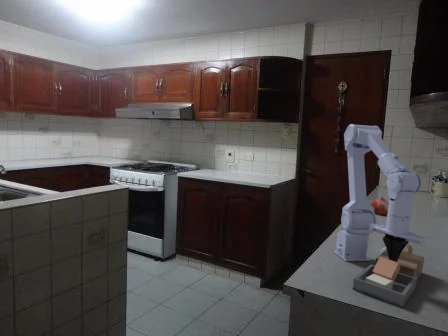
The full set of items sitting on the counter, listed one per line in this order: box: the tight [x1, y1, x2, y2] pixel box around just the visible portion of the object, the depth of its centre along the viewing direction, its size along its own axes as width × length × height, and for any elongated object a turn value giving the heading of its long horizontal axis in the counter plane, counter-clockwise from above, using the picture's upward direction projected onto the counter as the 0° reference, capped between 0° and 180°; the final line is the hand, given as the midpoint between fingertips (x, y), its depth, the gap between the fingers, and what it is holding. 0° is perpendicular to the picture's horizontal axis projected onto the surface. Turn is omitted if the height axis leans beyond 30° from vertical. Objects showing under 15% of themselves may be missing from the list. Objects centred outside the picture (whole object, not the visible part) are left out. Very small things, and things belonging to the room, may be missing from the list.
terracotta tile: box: [373, 257, 400, 282], centre depth 90 cm, size 5×5×2 cm
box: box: [352, 264, 418, 308], centre depth 88 cm, size 14×12×3 cm
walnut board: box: [374, 250, 425, 280], centre depth 99 cm, size 14×10×5 cm
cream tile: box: [365, 273, 393, 290], centre depth 87 cm, size 5×5×2 cm
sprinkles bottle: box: [379, 243, 414, 255], centre depth 112 cm, size 5×5×13 cm
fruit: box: [370, 195, 389, 216], centre depth 177 cm, size 9×10×10 cm
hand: (392, 262), depth 92 cm, fingers closed, pressing on terracotta tile
